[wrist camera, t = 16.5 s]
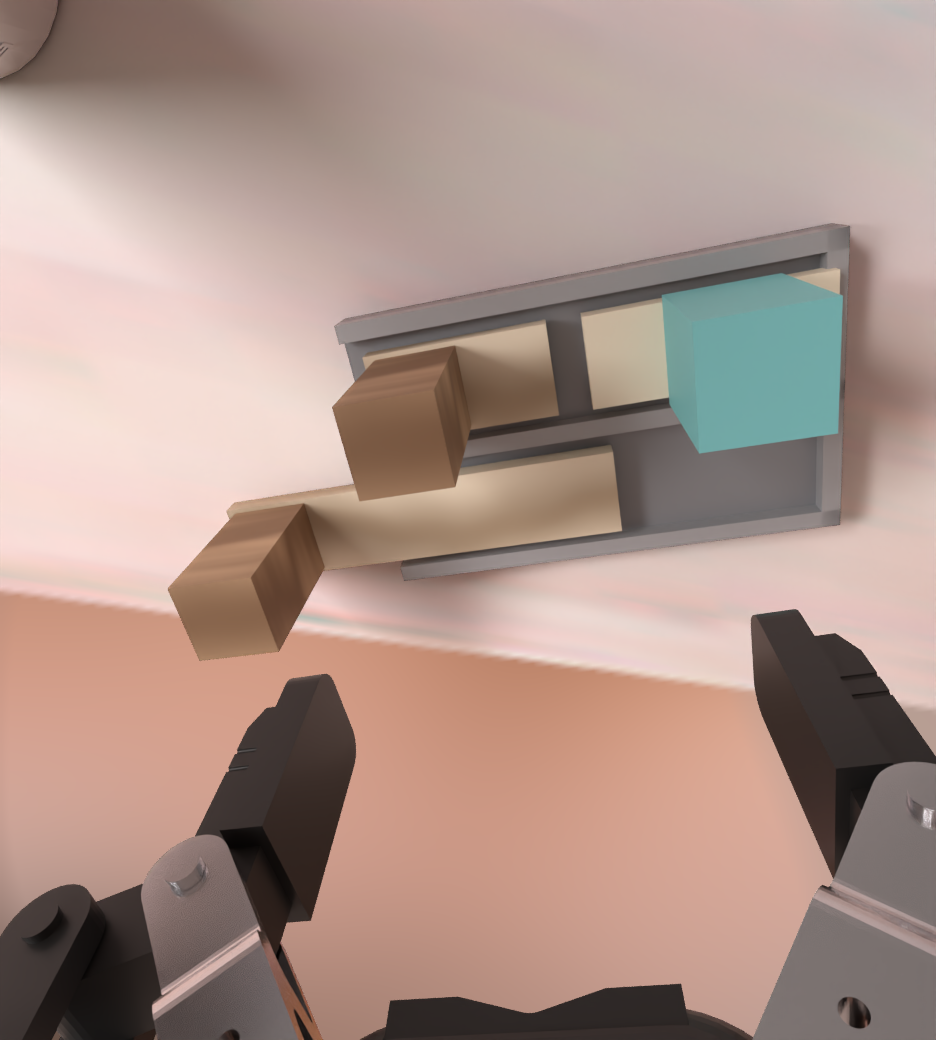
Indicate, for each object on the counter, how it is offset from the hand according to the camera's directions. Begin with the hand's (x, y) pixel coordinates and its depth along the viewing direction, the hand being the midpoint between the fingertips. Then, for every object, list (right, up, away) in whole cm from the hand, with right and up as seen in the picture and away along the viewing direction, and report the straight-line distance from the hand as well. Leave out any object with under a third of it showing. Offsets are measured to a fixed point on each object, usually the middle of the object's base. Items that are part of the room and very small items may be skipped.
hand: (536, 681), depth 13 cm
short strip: (-2, +9, +18) cm, 20 cm away
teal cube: (+9, +10, +15) cm, 21 cm away
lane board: (+5, +8, +19) cm, 21 cm away
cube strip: (-4, +3, +21) cm, 22 cm away
